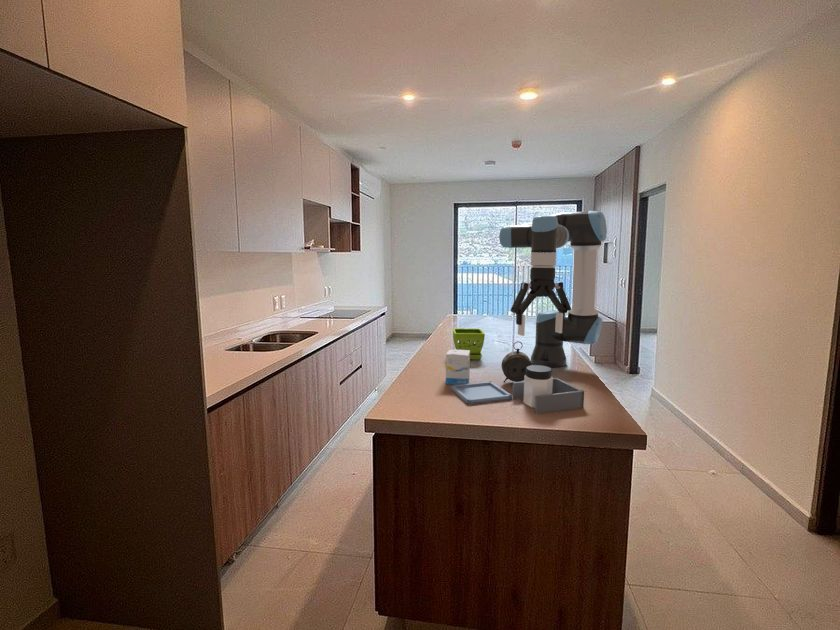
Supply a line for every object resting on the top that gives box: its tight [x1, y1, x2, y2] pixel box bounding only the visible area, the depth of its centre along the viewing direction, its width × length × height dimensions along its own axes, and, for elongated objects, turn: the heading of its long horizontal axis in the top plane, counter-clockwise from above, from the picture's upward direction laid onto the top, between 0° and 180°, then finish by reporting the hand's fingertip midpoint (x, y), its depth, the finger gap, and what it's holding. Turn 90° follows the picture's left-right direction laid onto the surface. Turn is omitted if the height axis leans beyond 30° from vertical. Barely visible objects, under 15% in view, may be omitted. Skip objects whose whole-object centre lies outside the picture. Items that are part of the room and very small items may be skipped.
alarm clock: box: [501, 341, 533, 383], centre depth 161 cm, size 11×5×16 cm, turn 86°
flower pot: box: [452, 327, 486, 361], centre depth 201 cm, size 14×14×13 cm
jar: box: [523, 364, 554, 409], centre depth 140 cm, size 9×8×12 cm
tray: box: [450, 381, 513, 406], centre depth 151 cm, size 16×16×2 cm
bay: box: [512, 377, 585, 415], centre depth 142 cm, size 17×15×6 cm
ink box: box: [445, 348, 471, 385], centre depth 164 cm, size 9×8×12 cm
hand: (540, 333), depth 138 cm, fingers open, 13 cm apart
